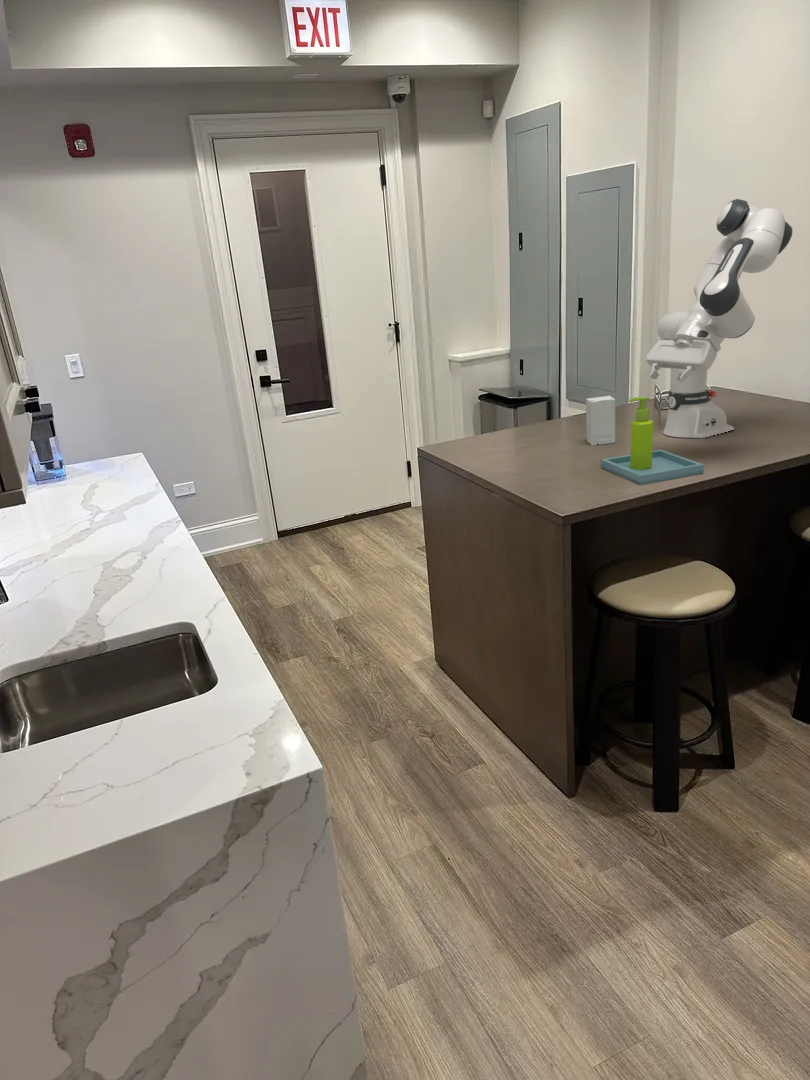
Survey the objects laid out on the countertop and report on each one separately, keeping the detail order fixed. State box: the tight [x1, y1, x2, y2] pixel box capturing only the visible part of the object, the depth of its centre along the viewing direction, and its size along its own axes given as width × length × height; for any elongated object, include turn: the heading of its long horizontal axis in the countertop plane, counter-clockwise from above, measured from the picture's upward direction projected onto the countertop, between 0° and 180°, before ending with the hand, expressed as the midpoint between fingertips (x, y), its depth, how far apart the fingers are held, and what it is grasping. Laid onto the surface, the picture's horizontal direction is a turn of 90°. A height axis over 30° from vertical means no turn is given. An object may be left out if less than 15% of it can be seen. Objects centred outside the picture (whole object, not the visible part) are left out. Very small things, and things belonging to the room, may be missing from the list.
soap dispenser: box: [627, 396, 654, 470], centre depth 207 cm, size 6×7×20 cm
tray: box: [600, 449, 705, 485], centre depth 209 cm, size 20×20×2 cm
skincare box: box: [585, 395, 616, 446], centre depth 241 cm, size 8×6×15 cm
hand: (666, 379), depth 208 cm, fingers open, 8 cm apart
